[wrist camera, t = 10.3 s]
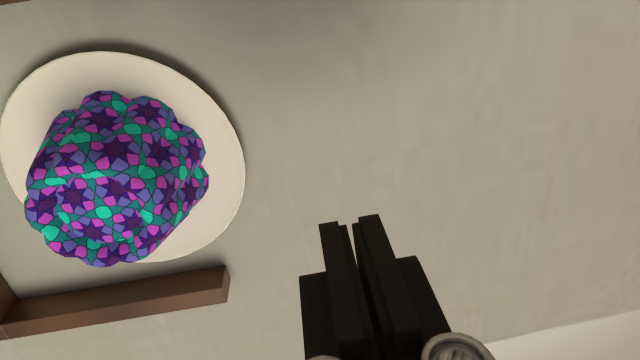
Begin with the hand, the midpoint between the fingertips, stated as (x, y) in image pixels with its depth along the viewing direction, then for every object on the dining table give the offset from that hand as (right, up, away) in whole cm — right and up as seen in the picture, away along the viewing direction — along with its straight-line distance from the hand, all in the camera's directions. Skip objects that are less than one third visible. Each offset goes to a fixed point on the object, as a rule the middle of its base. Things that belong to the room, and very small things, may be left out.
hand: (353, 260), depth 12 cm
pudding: (-11, +3, +11) cm, 16 cm away
